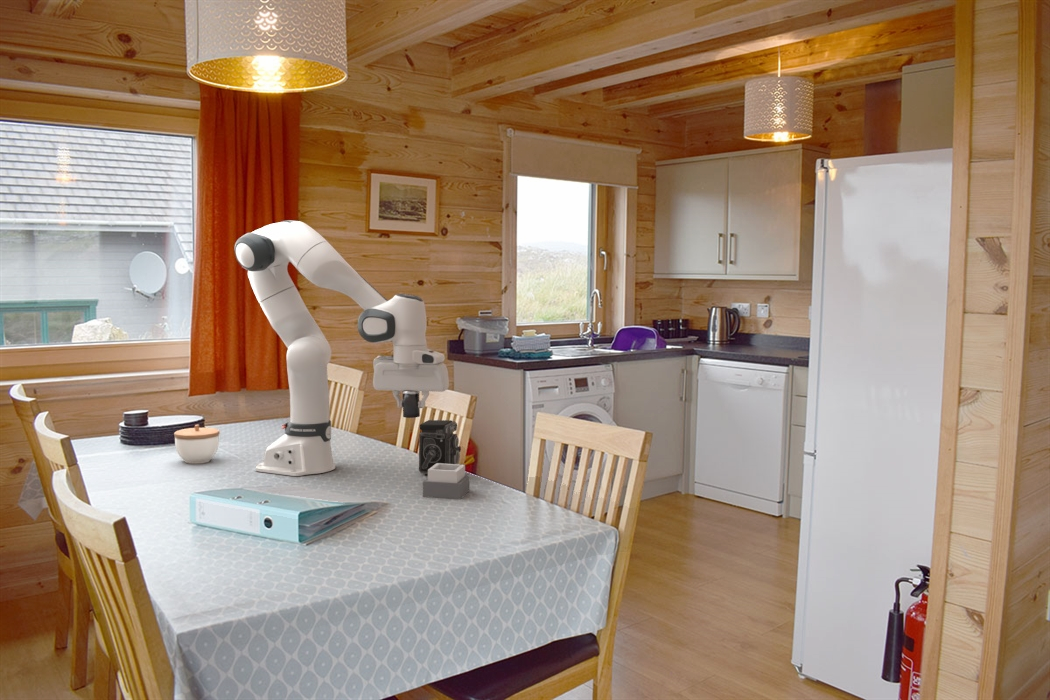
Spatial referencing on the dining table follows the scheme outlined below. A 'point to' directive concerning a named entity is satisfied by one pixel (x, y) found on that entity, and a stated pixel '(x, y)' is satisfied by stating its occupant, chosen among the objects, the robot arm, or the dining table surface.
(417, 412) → the lens
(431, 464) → the camera
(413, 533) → the dining table surface
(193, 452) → the lidded bowl
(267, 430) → the dining table surface
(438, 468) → the mount block
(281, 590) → the dining table surface
